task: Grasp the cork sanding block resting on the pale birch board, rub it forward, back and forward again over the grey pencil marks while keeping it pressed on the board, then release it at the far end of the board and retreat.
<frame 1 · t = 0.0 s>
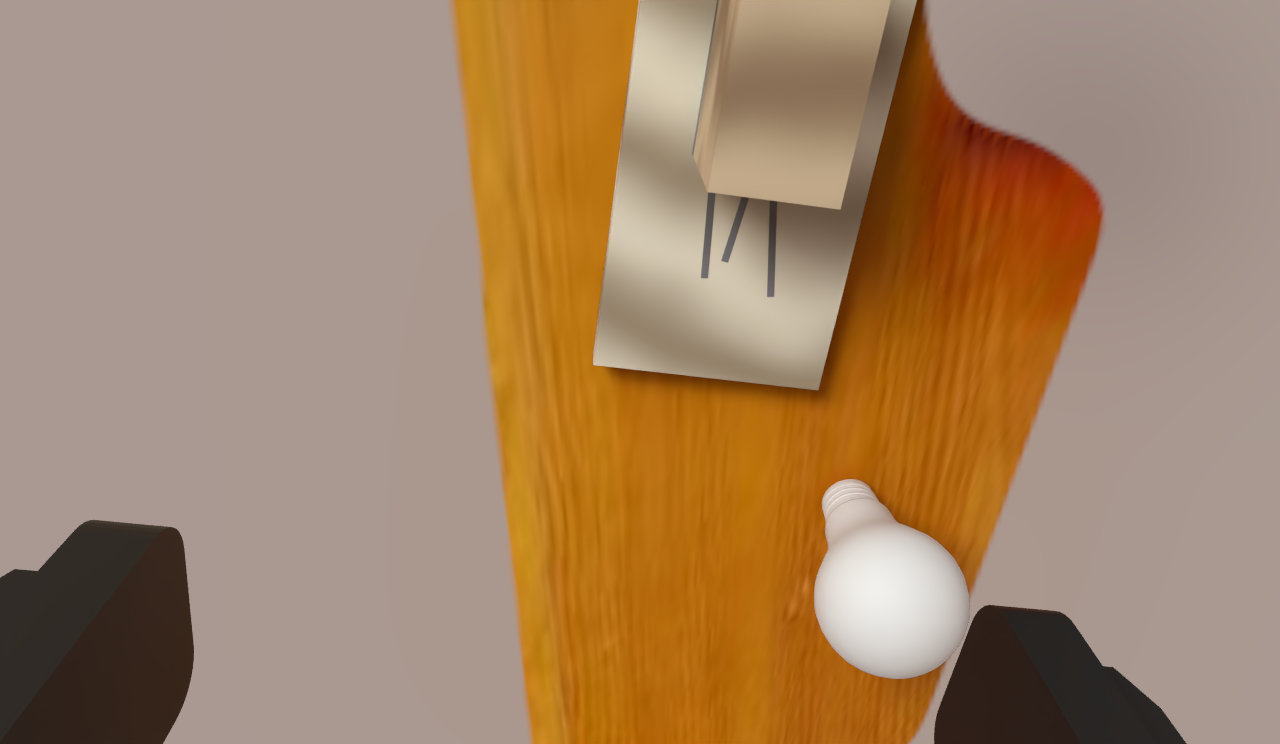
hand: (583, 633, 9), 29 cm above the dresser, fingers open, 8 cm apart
sanding block: (768, 54, 33), point 2 cm above the dresser, touching board
lightbulb: (842, 489, 44), on the dresser
board: (740, 165, 36), on the dresser
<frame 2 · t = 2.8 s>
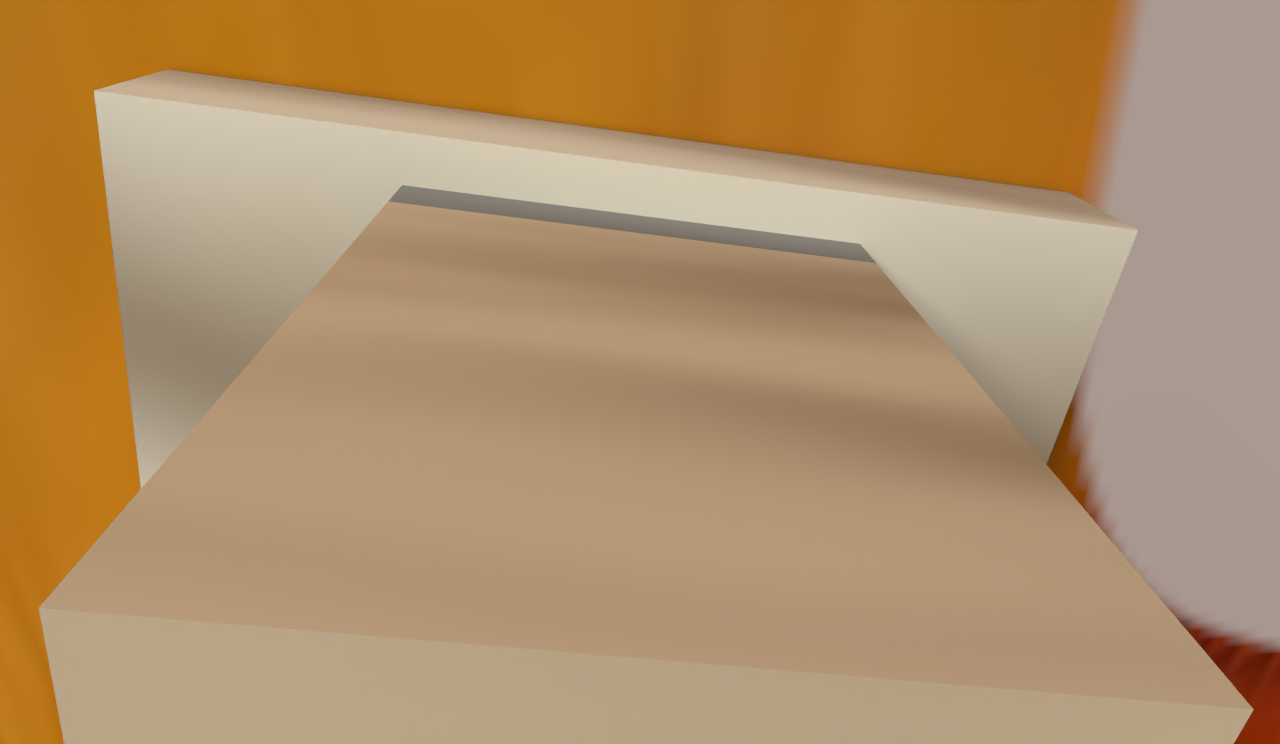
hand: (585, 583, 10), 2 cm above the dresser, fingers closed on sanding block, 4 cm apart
sanding block: (589, 548, 10), point 2 cm above the dresser, touching board, gripper
board: (557, 726, 14), on the dresser
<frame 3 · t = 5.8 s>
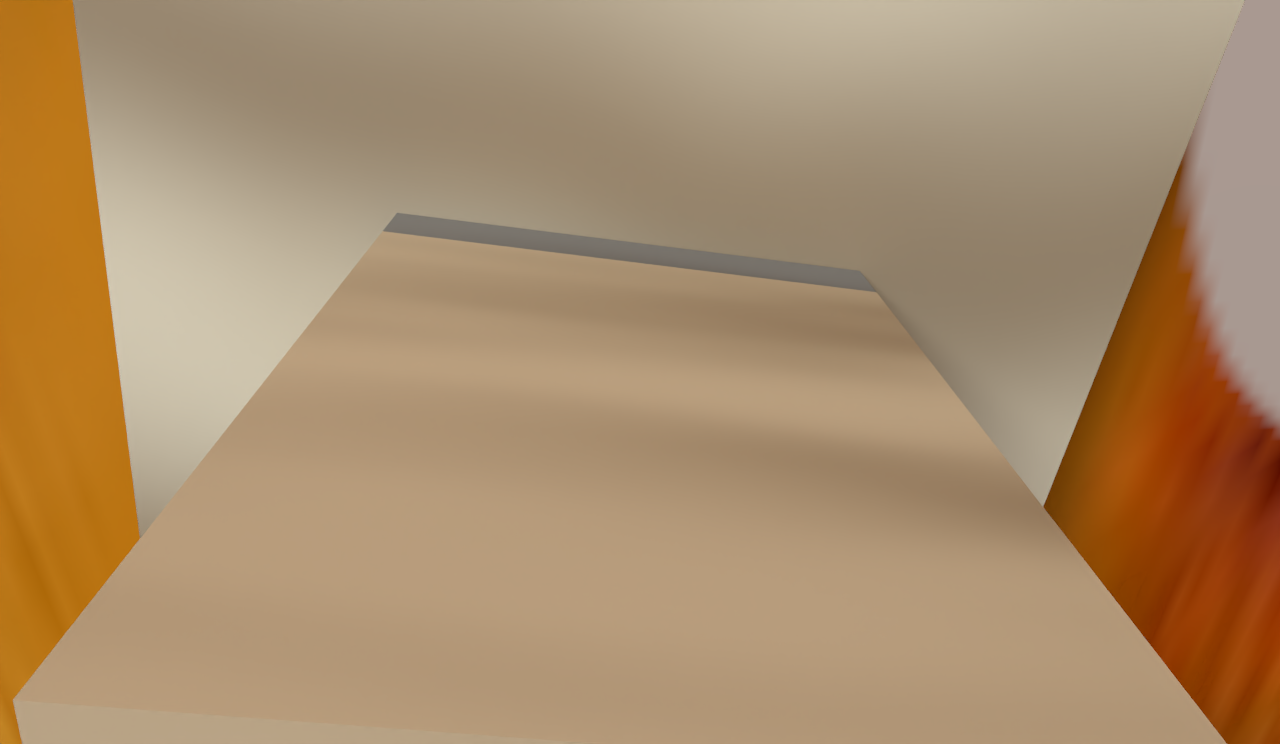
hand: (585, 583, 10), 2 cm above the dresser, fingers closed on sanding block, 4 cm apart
sanding block: (586, 574, 10), point 2 cm above the dresser, touching gripper
board: (582, 565, 12), on the dresser
when the fingers open (2 cm above the dresser, at t = 9.0 s): sanding block stays where it is, resting on board.
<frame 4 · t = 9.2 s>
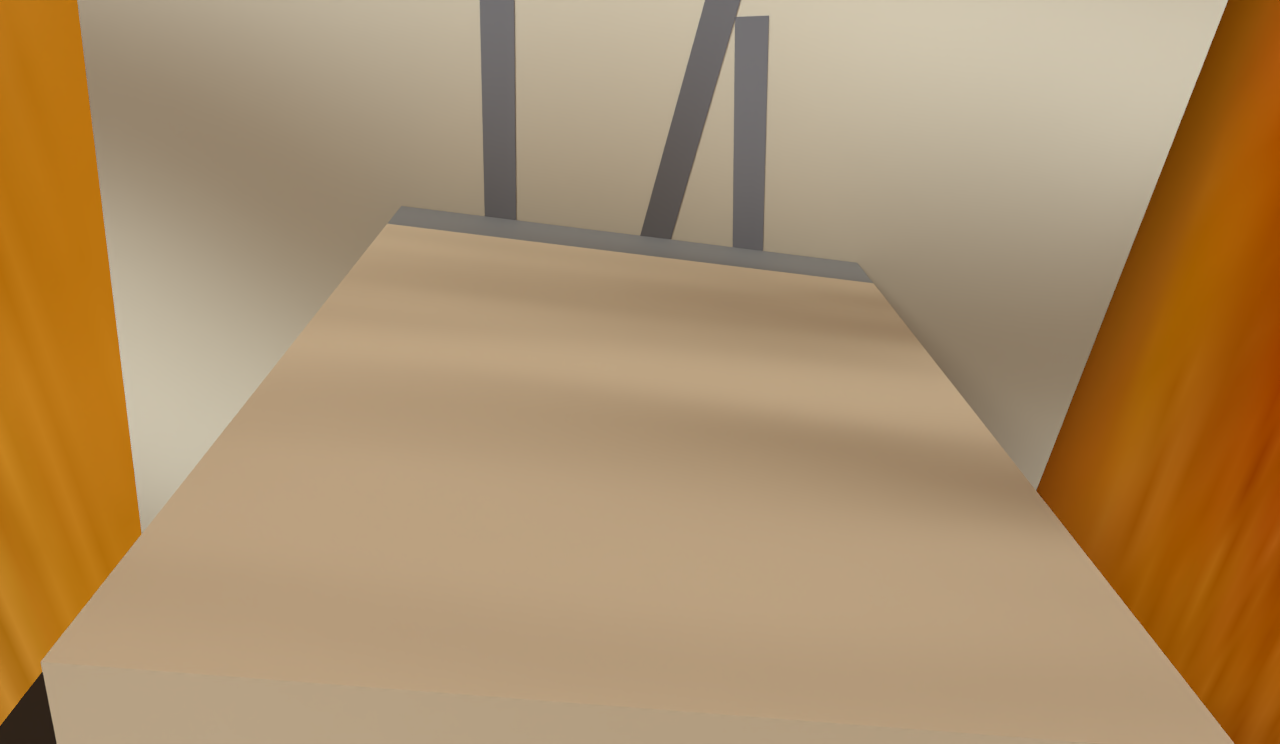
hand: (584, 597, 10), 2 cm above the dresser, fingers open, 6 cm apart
sanding block: (588, 563, 10), point 2 cm above the dresser, touching board
board: (629, 180, 10), on the dresser
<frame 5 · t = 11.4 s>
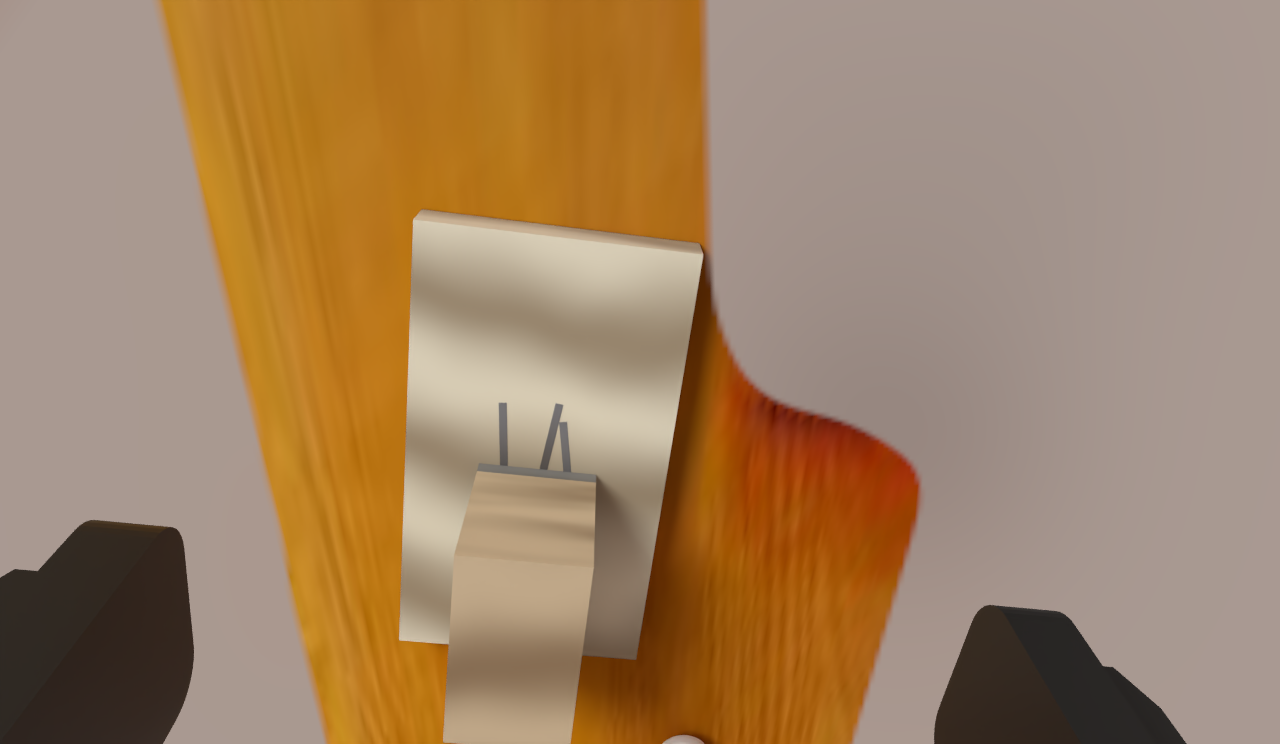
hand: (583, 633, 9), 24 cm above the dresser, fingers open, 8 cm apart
sanding block: (529, 555, 36), point 2 cm above the dresser, touching board
lightbulb: (681, 739, 42), on the dresser
board: (540, 446, 36), on the dresser
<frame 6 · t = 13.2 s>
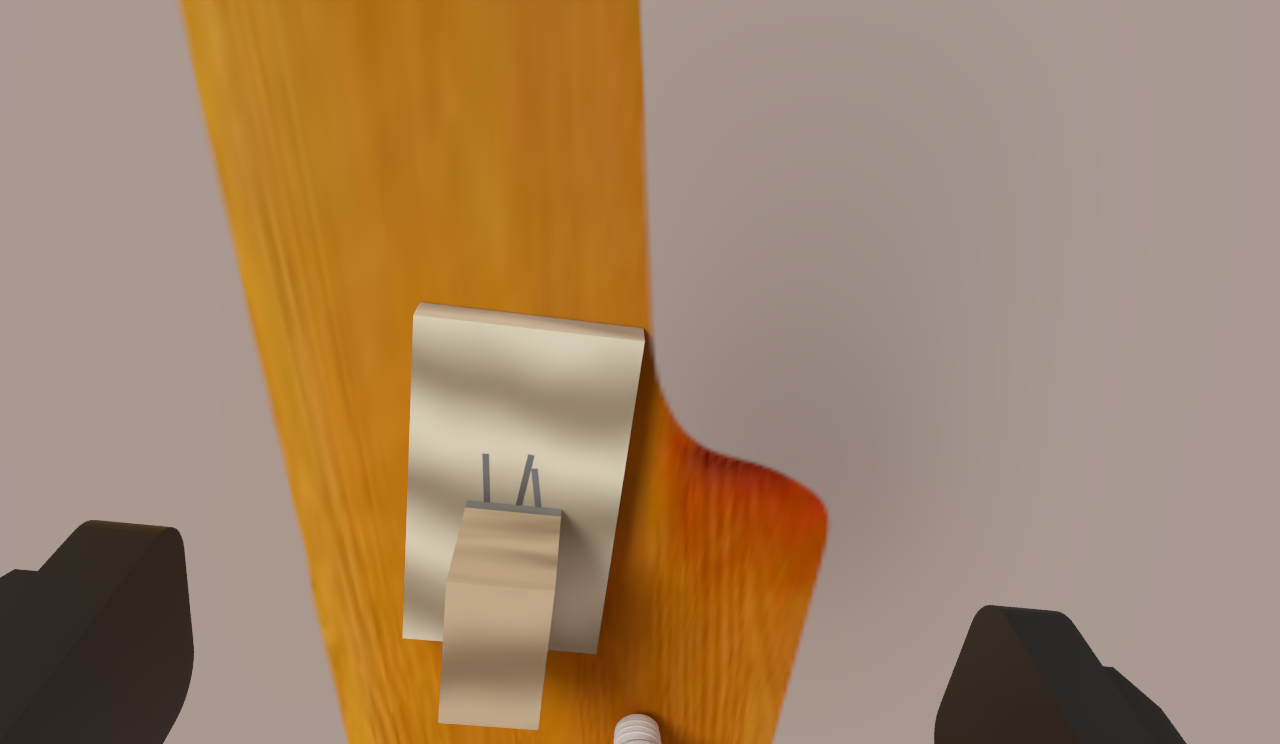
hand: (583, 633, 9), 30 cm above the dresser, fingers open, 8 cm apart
sanding block: (508, 571, 44), point 2 cm above the dresser, touching board
lightbulb: (636, 716, 51), on the dresser
board: (516, 484, 44), on the dresser
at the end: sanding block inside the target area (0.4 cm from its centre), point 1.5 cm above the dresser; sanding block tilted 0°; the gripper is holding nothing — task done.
